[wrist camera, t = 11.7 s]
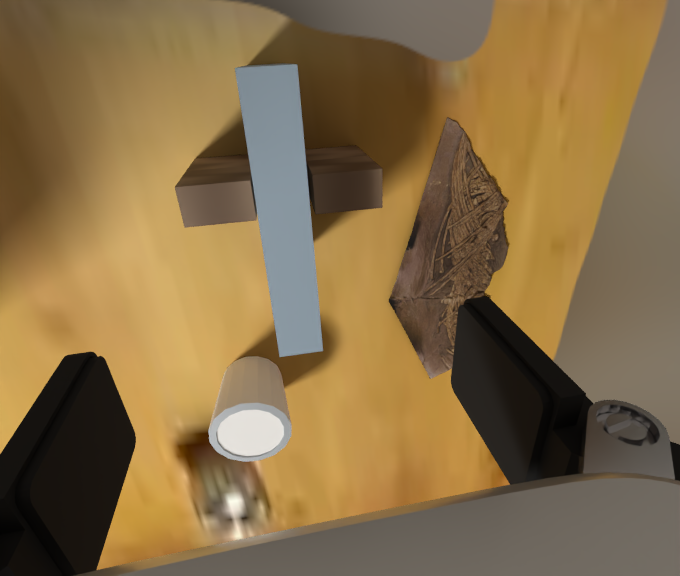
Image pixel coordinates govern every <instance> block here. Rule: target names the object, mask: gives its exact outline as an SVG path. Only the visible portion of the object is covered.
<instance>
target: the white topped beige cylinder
mask: <svg viewBox="0 0 680 576" xmlns="http://www.w3.org/2000/svg"><path fill="white" fill-rule="evenodd" d="M208 432H209V440H210V443H211V445H212V446H213V447H214V448H215V450H216V451H217V452H218V453H220V454H222V455H223V456H225V457H227V458H229V459H233V460H239V461H244V462H246V461H257V460H262V459H265V458H267V457H270V456H273V455H275V454H276V453H277V452H279V451H280V450H281V449H283V448H284V447H285V446H286V444H287V442H288V441H289V439H290V437H291V420H290V415H289V410H288V405H287V400H286V395H285V390H284V385H283V380H282V375H281V372H280V370H279V368H278V367H277V365H276V364H275V363H273V362H272V361H270V360H269V359H266V358H263V357H259V356H250V357H244V358H241V359H238V360H236V361H234V362H233V363H232V364H231V365H230V366H228V367H227V369H226V371H225V374H224V376H223V379H222V383H221V387H220V390H219V394H218V398H217V401H216V405H215V409H214V412H213V416H212V419H211V423H210V427H209V430H208Z"/></svg>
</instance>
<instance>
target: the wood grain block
mask: <svg viewBox="0 0 680 576" xmlns="http://www.w3.org/2000/svg"><path fill="white" fill-rule="evenodd" d="M305 155H306V166H307V178H308V189H309V197H310V199H311V202H312V205H313V208H314V211H315V214H324V213H334V212H344V211H354V210H364V209H373V208H382V168H381V167H380V166H379V165H378V164H377V163H375V162H374V161H373V160H372V159H371V158H370V157H369V156H368V155H366V154H365V153H364V152H363V151H362V150H361V149H360V148H359V147H357V146H356V145H355V146H343V147H331V148H319V149H306V150H305ZM175 190H176V194H177V198H178V202H179V207H180V211H181V215H182V219H183V223H184V227H195V226H205V225H215V224H224V223H234V222H244V221H254V220H256V217H257V208H256V201H255V195H254V188H253V182H252V175H251V169H250V162H249V156H248V154H245V155H233V156H221V157H209V158H197V159H194V161H193V162H192V164H191V165H190V166H189V168H188V169H187V171H186V172H185V174H184V175H183V176H182V178H181V179H180V181H179V182H178V183H177V185H176V186H175Z"/></svg>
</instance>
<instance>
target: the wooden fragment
mask: <svg viewBox="0 0 680 576" xmlns="http://www.w3.org/2000/svg"><path fill="white" fill-rule="evenodd" d="M507 205H508V203H507V202H506V200H505V199H504V198H503V196H502V194H501V192H499V191H498V189H497V187H496V185H495V182H494V181H493V180H492V178H491V177H490V175H489V176H488V175H487V174H486V172H485V170H484V168H483V165H482V164H481V162H480V161H479V159H478V158H477V157H476V156H475V154H474V152H473V150H471V147H470V142H469V140H468V138H467V136H466V133H465V131H464V130H463V129H462V128H461V127H460V126H459V125H458V124H457V123H456V122H455V121H453V120H451V119H449V118H448V117H447V120H446V123H445V126H444V130H443V132H442V136H441V139H440V142H439V146H438V149H437V152H436V155H435V159H434V162H433V164H432V168H431V172H430V175H429V177H428V181H427V184H426V187H425V190H424V193H423V196H422V200H421V203H420V206H419V209H418V213H417V216H416V220H415V223H414V227H413V231H412V234H411V236H410V239H409V242H408V246H407V248H406V251H405V254H404V257H403V260H402V263H401V266H400V269H399V274H398V276H397V281H396V283H395V285H394V288H393V291H392V294H391V296H390V299H389V303H390V304H391V306H392V307H393V310H395V313H396V315H397V317H398V318H399V321H400V322H401V324H402V326H403V328H404V330H405V331H406V334H407V335H408V337H409V339H410V341H411V343H412V345H413V347H414V349H415V351H416V352H417V354H418V356H419V359H420V360H421V362H422V364H423V365H424V368H425V369H426V371H427V373H428V375H429V378H430V379H431V378H433V377H435V376H437V375H439V374H442V373H444V372H446V371H448V370H450V369H451V368H452V365H453V355H454V345H455V335H456V325H457V315H458V308H459V306H460V305H463V304H464V301H465V300H466V299H470V298H477V297H484V296H483V295H484V292H485V290H486V289H487V287H488V286H489V284H490V281H491V279H492V278H491V274H492V273H494V272H496V271H498V270H499V269H500V268H501V267H502V266H503V264H504V261H505V259H506V254H507V250H508V246H507V244H506V241H505V238H506V236H505V234H504V227H503V211H504V209H505V208H506V207H507ZM391 297H393V298H391ZM394 298H397V299H394ZM488 298H489V297H488Z"/></svg>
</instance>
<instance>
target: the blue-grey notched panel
mask: <svg viewBox="0 0 680 576" xmlns="http://www.w3.org/2000/svg"><path fill="white" fill-rule="evenodd" d="M235 72H236V78H237V85H238V91H239V98H240V104H241V111H242V117H243V124H244V130H245V136H246V143H247V149H248V156H249V162H250V169H251V175H252V182H253V188H254V195H255V201H256V208H257V214H258V220H259V227H260V233H261V240H262V246H263V253H264V259H265V266H266V272H267V279H268V285H269V292H270V298H271V304H272V311H273V317H274V324H275V330H276V337H277V343H278V350H279V356H280V357H284V356H291V355H298V354H305V353H312V352H319V351H323V344H322V333H321V322H320V311H319V300H318V289H317V278H316V266H315V255H314V244H313V233H312V222H311V211H310V200H309V189H308V178H307V166H306V155H305V144H304V133H303V122H302V111H301V100H300V89H299V77H298V66H297V64H285V63H281V64H264V65H247V66H242V67H237V68H235Z"/></svg>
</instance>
